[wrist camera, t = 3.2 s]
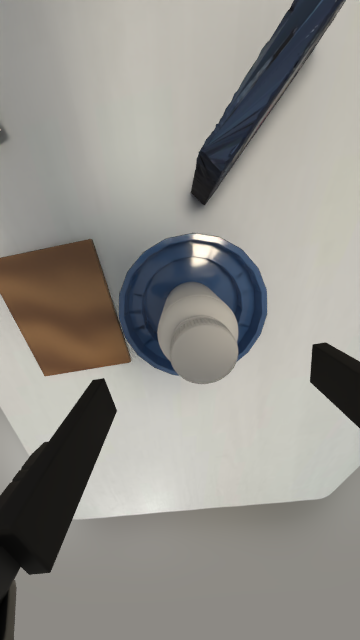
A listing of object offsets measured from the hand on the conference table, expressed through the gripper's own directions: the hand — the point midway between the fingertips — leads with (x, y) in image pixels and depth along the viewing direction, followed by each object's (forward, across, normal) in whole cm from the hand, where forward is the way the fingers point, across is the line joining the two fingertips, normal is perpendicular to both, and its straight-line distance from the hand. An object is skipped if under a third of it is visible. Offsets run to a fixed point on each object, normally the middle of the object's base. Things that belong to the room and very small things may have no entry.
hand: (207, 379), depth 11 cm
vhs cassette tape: (+18, +10, +20) cm, 29 cm away
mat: (+18, -20, +2) cm, 27 cm away
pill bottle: (+17, 0, 0) cm, 17 cm away
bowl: (+18, 0, 0) cm, 18 cm away
